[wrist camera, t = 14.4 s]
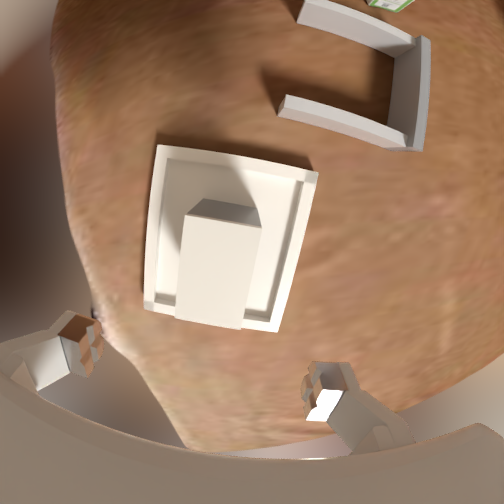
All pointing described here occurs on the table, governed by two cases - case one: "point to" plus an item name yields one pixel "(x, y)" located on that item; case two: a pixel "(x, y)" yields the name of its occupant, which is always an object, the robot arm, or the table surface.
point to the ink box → (390, 4)
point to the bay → (403, 87)
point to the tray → (237, 192)
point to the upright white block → (217, 263)
